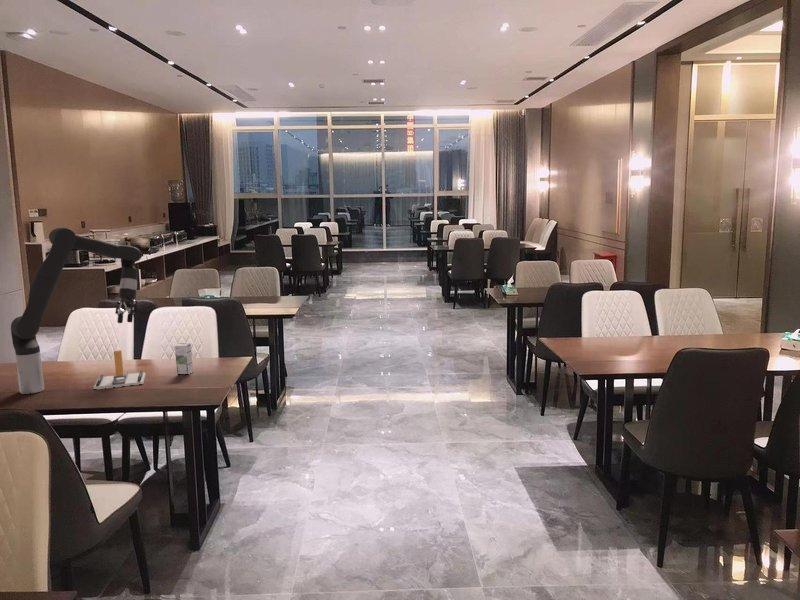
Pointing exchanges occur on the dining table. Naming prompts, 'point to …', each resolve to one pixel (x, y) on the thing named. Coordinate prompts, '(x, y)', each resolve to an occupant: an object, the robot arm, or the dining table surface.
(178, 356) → the syrup box
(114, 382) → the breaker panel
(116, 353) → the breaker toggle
